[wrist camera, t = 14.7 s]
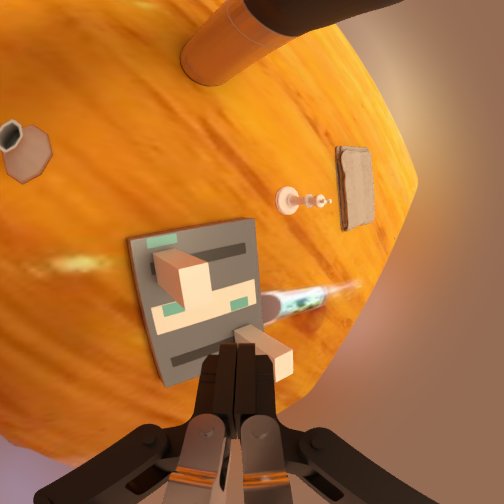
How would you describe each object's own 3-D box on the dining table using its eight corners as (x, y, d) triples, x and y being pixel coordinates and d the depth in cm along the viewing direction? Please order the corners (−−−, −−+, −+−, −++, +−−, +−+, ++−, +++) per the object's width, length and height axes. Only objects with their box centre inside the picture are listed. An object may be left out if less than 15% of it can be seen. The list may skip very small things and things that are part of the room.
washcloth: (362, 147, 59) (372, 146, 56) (368, 221, 63) (379, 222, 61) (330, 146, 53) (342, 144, 50) (338, 231, 57) (350, 232, 55)
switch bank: (159, 377, 39) (165, 388, 36) (126, 238, 34) (130, 240, 31) (255, 342, 48) (265, 349, 46) (243, 217, 43) (255, 218, 41)
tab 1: (157, 283, 34) (185, 309, 26) (152, 252, 33) (178, 269, 25) (179, 278, 35) (213, 301, 27) (174, 248, 34) (208, 262, 26)
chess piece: (298, 212, 49) (342, 215, 41) (277, 217, 47) (321, 220, 39) (295, 184, 48) (339, 183, 40) (273, 188, 46) (317, 185, 37)
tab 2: (236, 351, 42) (275, 382, 34) (233, 330, 41) (274, 358, 33) (252, 345, 44) (293, 373, 36) (250, 324, 43) (292, 349, 35)
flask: (35, 116, 24) (22, 86, 15) (62, 155, 27) (54, 136, 19) (-5, 154, 21) (-31, 137, 13) (21, 194, 25) (-1, 190, 17)
